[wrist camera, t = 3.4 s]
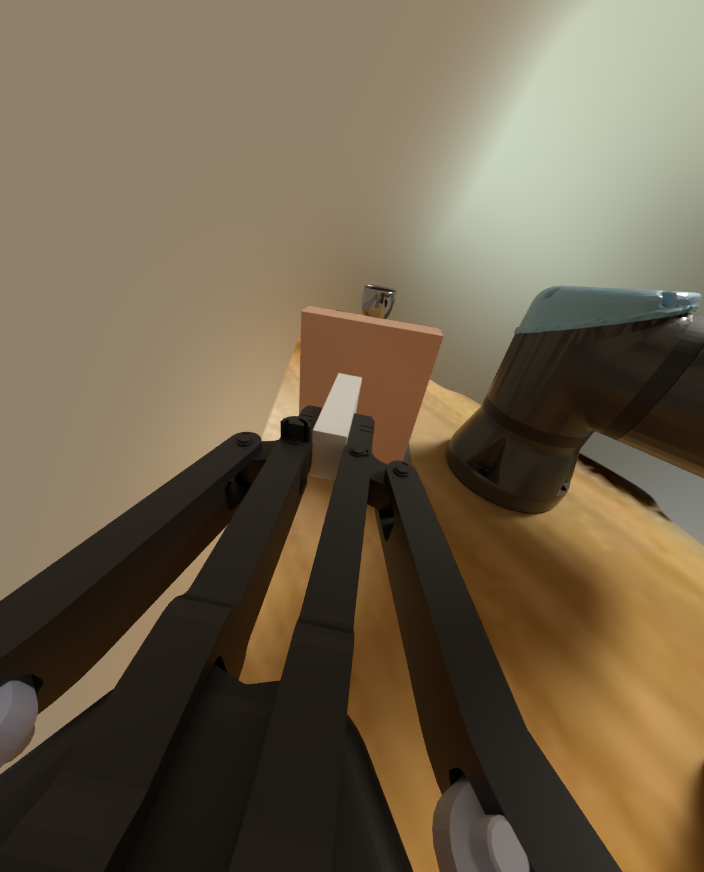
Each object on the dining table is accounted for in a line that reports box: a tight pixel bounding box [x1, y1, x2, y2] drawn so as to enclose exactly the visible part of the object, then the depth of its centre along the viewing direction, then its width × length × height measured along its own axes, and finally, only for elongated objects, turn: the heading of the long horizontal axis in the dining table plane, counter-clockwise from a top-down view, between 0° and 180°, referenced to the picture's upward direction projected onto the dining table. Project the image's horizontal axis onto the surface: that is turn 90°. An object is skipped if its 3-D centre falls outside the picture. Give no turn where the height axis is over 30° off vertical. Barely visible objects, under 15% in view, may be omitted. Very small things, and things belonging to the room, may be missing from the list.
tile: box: [299, 306, 443, 464], centre depth 29 cm, size 12×3×18 cm, turn 82°
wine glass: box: [362, 285, 397, 319], centre depth 67 cm, size 8×8×15 cm
